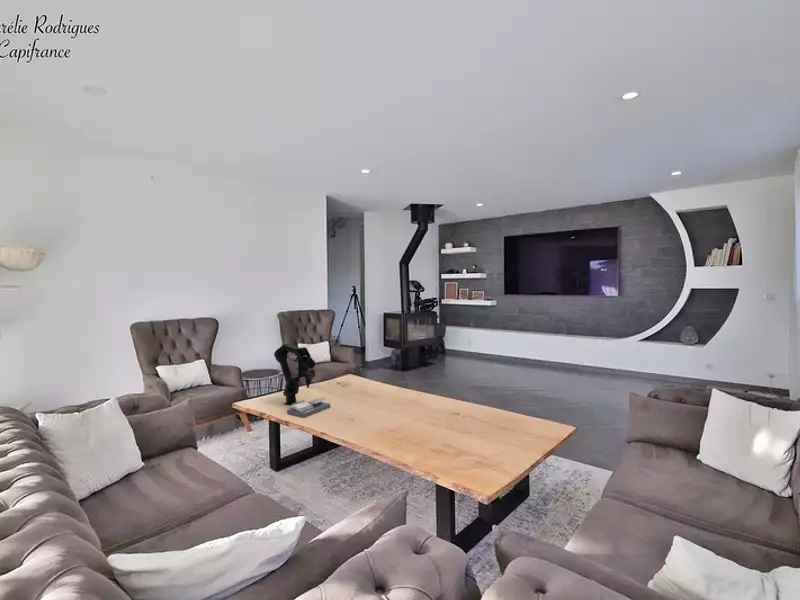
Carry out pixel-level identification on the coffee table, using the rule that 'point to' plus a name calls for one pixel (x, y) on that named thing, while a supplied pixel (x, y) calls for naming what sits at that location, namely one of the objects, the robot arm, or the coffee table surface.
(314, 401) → the rocker
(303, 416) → the switch unit
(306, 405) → the grey flat slab
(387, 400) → the coffee table surface
